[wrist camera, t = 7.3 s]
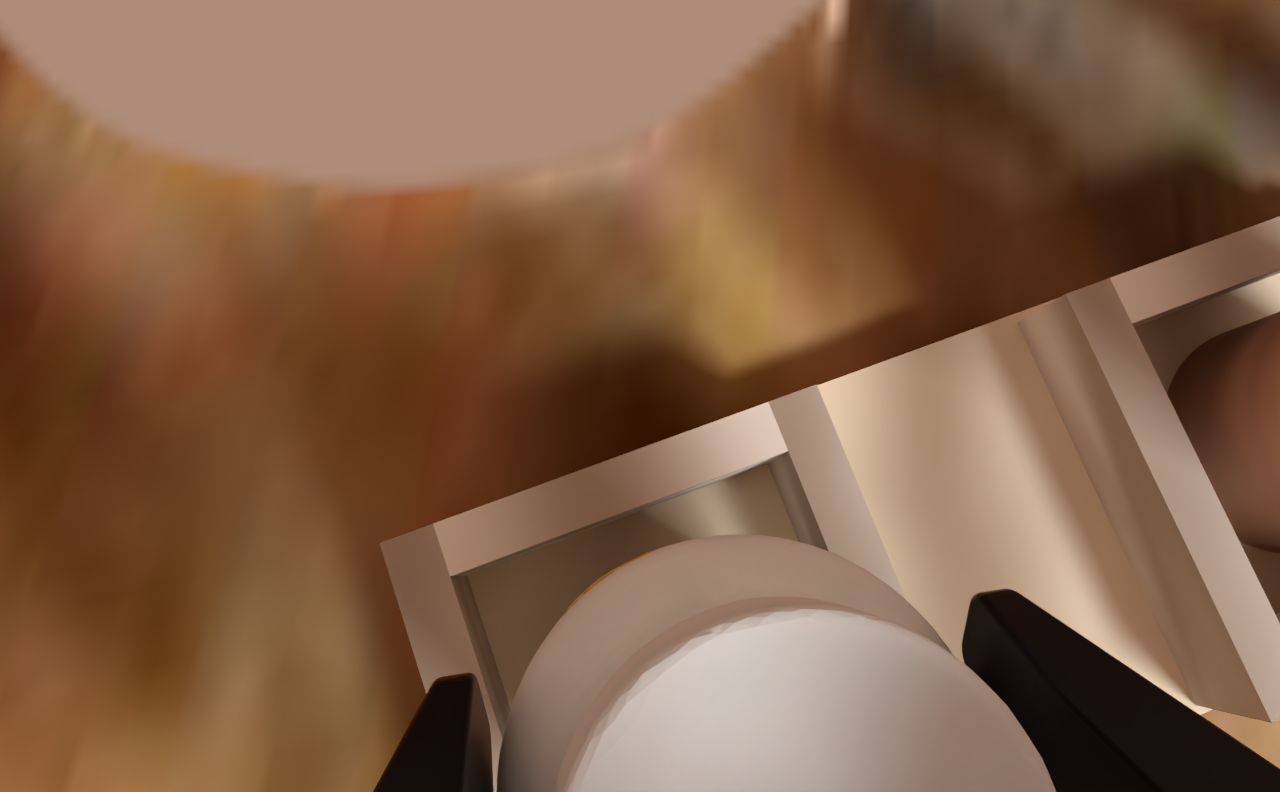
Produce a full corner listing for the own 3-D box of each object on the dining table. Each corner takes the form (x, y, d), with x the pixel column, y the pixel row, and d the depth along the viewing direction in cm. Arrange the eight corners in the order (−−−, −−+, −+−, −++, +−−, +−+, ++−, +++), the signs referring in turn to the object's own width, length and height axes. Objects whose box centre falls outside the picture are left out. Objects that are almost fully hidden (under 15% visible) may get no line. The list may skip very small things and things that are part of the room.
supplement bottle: (491, 780, 15) (304, 1118, 6) (609, 503, 16) (616, 407, 7) (770, 906, 15) (1052, 1468, 6) (872, 615, 16) (1249, 676, 7)
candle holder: (1315, 210, 21) (2098, -181, 10) (1505, 557, 19) (2675, 546, 8) (393, 545, 18) (87, 513, 7) (529, 977, 17) (398, 1745, 6)
